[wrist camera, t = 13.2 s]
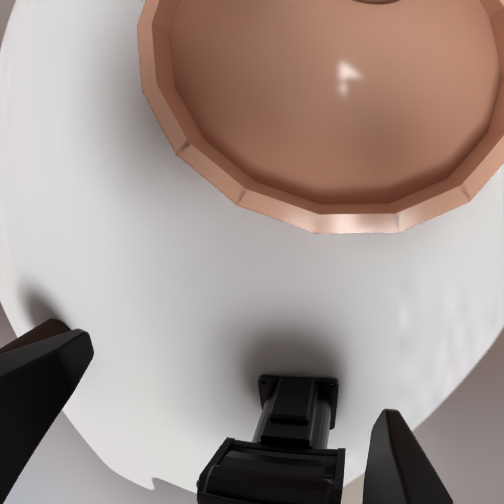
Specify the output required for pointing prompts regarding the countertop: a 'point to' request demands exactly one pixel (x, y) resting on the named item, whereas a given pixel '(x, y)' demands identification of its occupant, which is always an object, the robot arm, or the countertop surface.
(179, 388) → the countertop surface
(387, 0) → the tan flared cylinder
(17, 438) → the robot arm
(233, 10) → the tray
